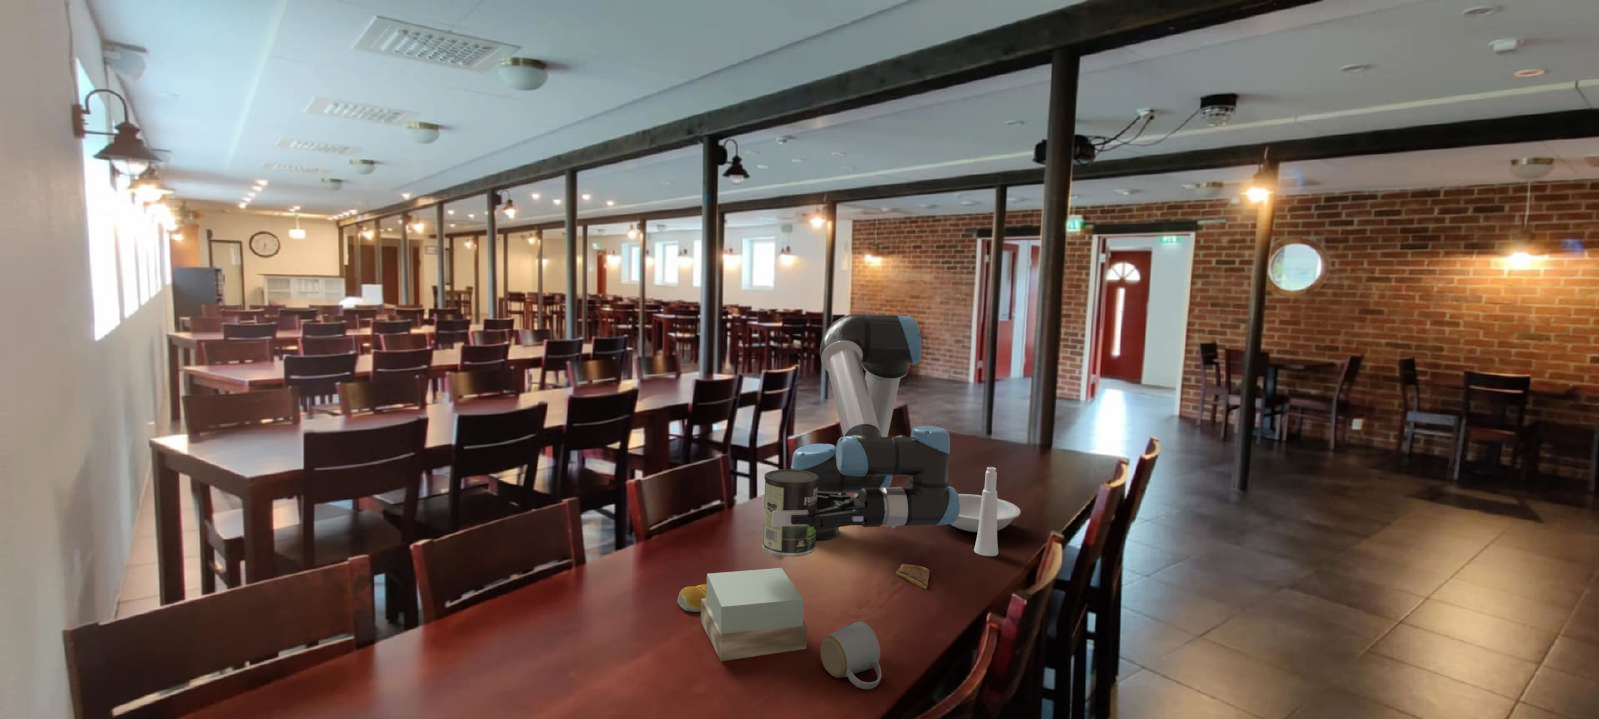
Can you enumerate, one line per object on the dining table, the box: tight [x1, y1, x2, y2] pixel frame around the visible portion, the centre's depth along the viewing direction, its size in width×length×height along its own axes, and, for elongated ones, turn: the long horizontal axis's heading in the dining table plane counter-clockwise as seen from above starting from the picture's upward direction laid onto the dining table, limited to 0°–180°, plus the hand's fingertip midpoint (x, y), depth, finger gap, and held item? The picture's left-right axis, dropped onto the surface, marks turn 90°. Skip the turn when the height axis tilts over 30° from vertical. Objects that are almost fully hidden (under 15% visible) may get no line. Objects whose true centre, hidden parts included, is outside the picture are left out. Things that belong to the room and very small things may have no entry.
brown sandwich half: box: [895, 563, 930, 590], centre depth 166 cm, size 11×8×2 cm
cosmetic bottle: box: [973, 466, 999, 557], centre depth 184 cm, size 6×6×22 cm
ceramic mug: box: [819, 621, 883, 690], centre depth 123 cm, size 11×8×8 cm
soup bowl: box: [950, 493, 1021, 533], centre depth 203 cm, size 24×24×7 cm
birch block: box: [700, 598, 808, 662], centre depth 136 cm, size 16×16×5 cm
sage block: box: [706, 567, 805, 634], centre depth 135 cm, size 15×15×5 cm
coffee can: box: [761, 468, 819, 558], centre depth 138 cm, size 10×10×14 cm
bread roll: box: [677, 583, 707, 613], centre depth 149 cm, size 8×9×4 cm
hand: (768, 509), depth 137 cm, fingers closed on coffee can, 10 cm apart
